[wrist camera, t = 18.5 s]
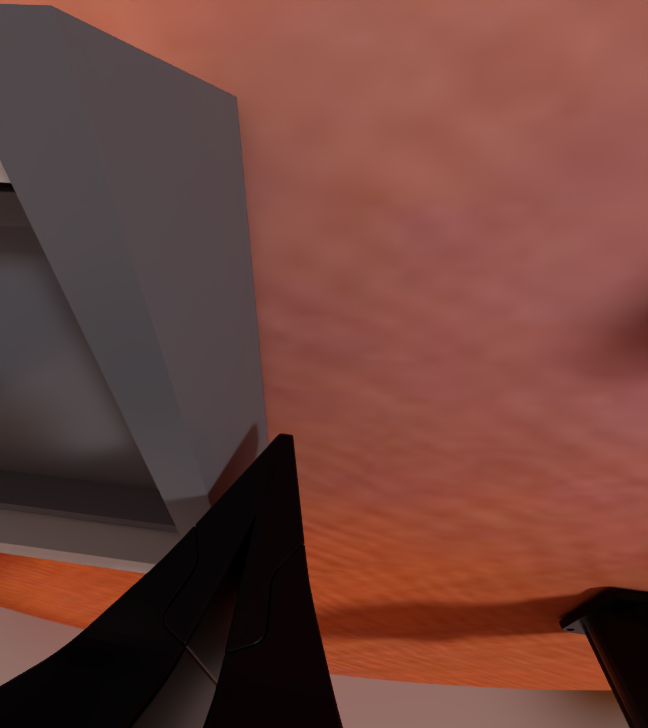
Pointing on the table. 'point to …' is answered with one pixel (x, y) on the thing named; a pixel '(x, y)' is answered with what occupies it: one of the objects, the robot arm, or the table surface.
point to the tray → (120, 282)
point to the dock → (82, 535)
